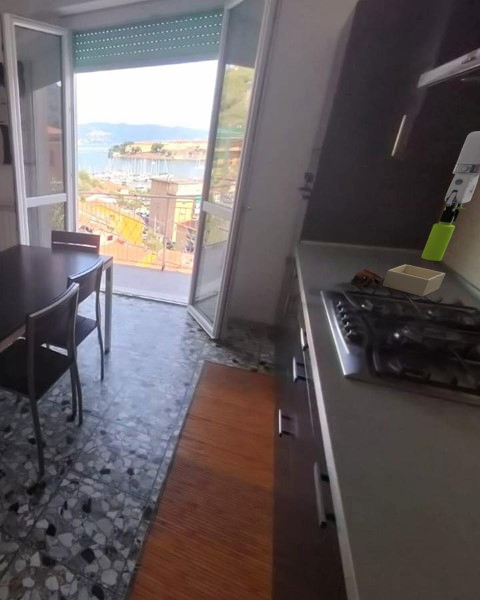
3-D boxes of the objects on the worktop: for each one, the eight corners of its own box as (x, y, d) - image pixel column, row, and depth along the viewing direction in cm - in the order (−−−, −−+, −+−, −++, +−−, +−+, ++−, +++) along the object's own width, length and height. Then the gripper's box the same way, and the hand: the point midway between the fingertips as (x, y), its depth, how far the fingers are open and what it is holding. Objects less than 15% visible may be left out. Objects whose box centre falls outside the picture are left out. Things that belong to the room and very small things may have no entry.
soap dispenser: (447, 261, 135) (470, 208, 127) (424, 259, 138) (445, 207, 130) (441, 257, 140) (462, 205, 132) (418, 255, 143) (438, 204, 135)
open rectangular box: (438, 289, 148) (445, 273, 145) (422, 296, 141) (429, 280, 138) (399, 279, 159) (405, 264, 156) (382, 285, 152) (387, 270, 149)
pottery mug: (345, 281, 158) (359, 266, 155) (365, 294, 155) (380, 278, 153) (353, 284, 147) (369, 267, 144) (375, 297, 144) (391, 281, 142)
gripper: (475, 171, 119) (452, 226, 126) (491, 169, 126) (468, 220, 134) (445, 170, 125) (425, 222, 132) (462, 168, 132) (442, 217, 140)
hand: (447, 221), depth 133 cm, fingers closed on soap dispenser, 3 cm apart
